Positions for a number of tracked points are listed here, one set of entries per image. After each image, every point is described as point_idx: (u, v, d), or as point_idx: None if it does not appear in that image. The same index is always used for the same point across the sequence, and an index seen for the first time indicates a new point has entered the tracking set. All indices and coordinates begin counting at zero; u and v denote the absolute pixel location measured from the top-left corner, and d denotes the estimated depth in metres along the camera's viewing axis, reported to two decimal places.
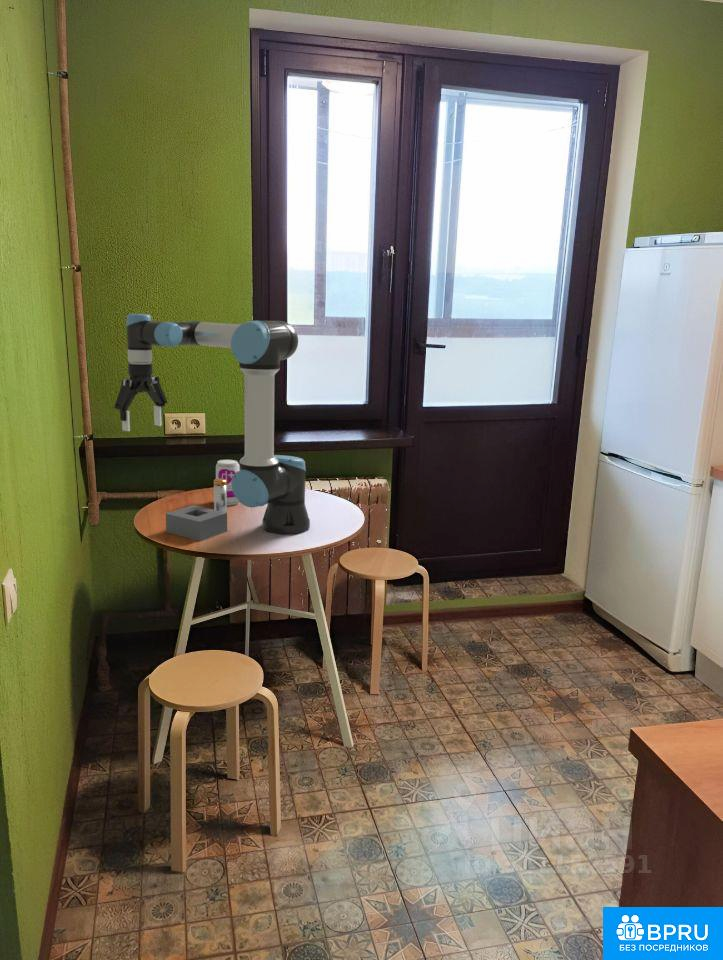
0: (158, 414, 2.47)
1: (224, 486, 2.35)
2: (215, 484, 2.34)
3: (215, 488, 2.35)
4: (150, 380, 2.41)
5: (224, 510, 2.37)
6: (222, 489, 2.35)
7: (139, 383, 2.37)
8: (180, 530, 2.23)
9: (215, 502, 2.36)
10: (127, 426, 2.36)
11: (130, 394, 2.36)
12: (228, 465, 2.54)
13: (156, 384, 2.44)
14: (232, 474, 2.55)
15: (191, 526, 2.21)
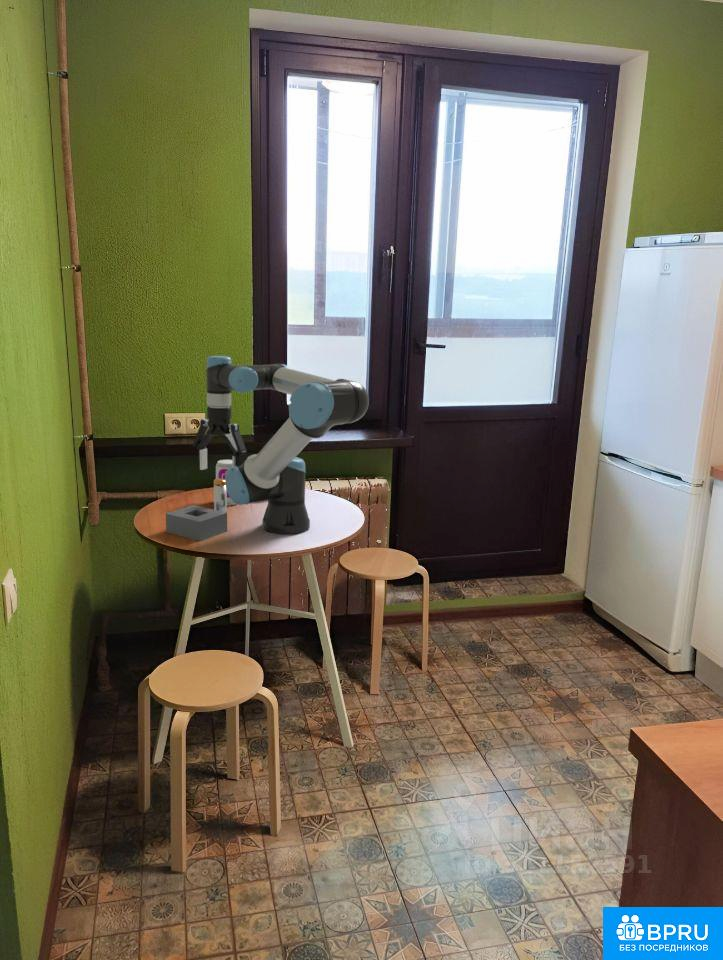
0: None
1: (224, 486, 2.35)
2: (215, 484, 2.34)
3: (215, 488, 2.35)
4: (224, 426, 2.29)
5: (224, 510, 2.37)
6: (222, 489, 2.35)
7: None
8: (180, 530, 2.23)
9: (215, 502, 2.36)
10: None
11: None
12: (228, 465, 2.54)
13: None
14: None
15: (191, 526, 2.21)
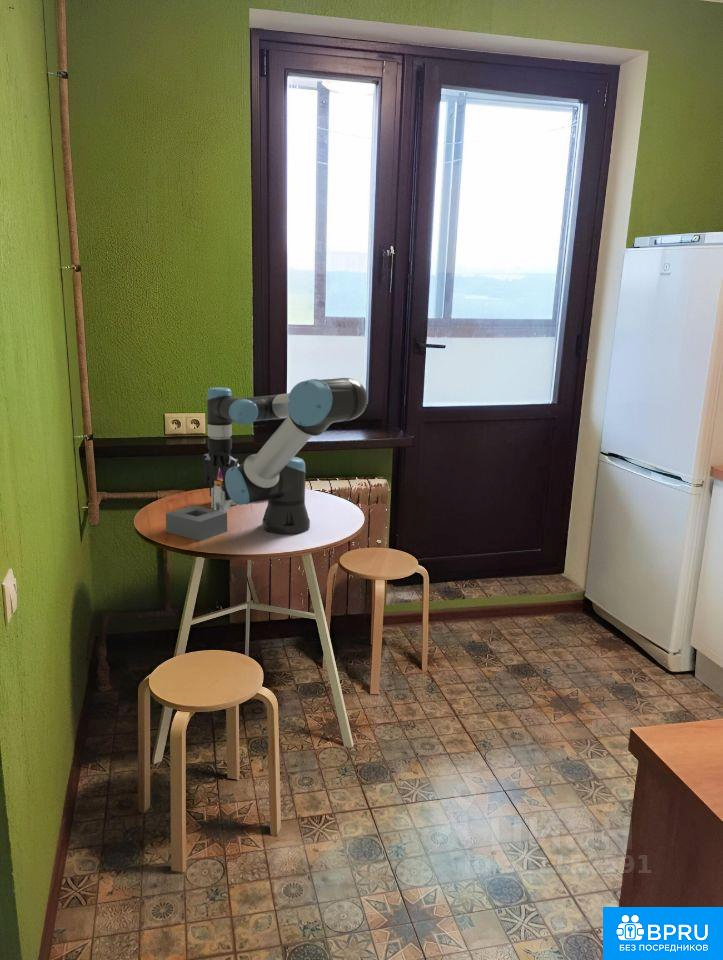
0: None
1: None
2: (215, 484, 2.34)
3: (215, 488, 2.35)
4: (225, 456, 2.31)
5: None
6: (222, 489, 2.35)
7: None
8: (180, 530, 2.23)
9: (215, 502, 2.36)
10: None
11: None
12: None
13: None
14: None
15: (191, 526, 2.21)
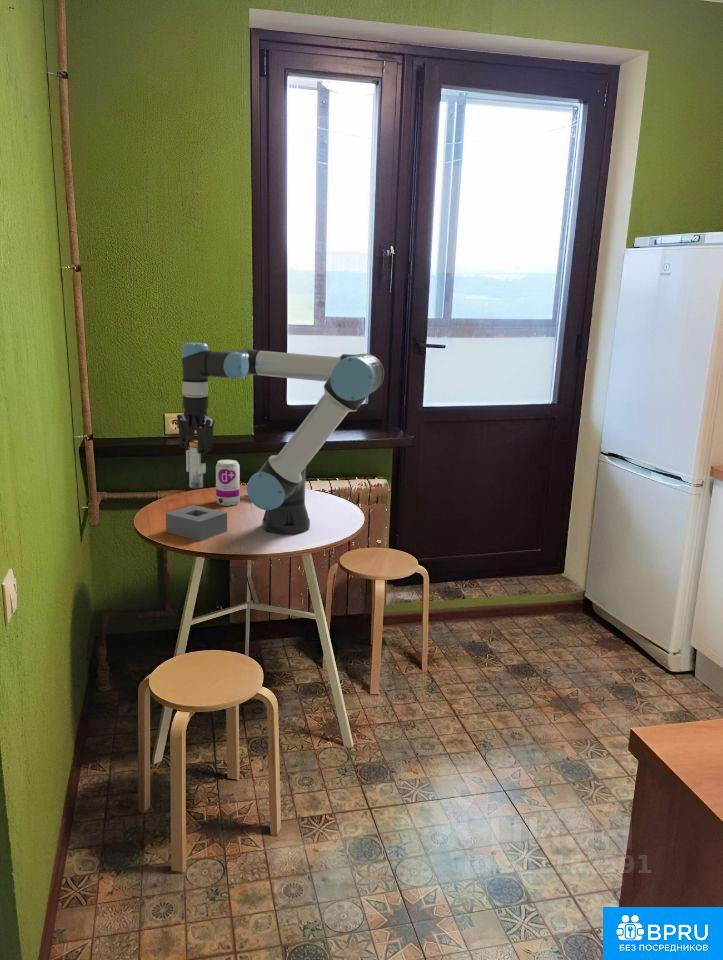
0: None
1: None
2: (190, 446, 2.21)
3: (190, 450, 2.21)
4: (200, 416, 2.18)
5: (200, 474, 2.23)
6: (198, 451, 2.21)
7: None
8: (180, 530, 2.23)
9: (190, 465, 2.23)
10: None
11: None
12: (228, 465, 2.54)
13: None
14: (232, 474, 2.55)
15: (191, 526, 2.21)
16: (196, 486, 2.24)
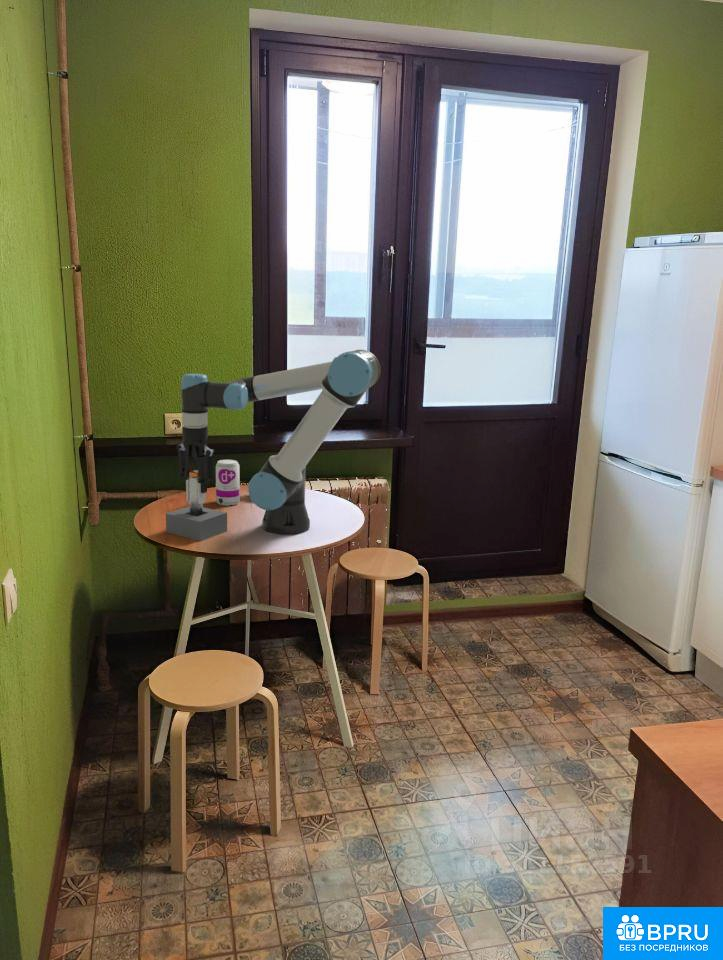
0: None
1: None
2: (190, 476, 2.23)
3: (190, 480, 2.23)
4: (200, 446, 2.19)
5: None
6: None
7: None
8: (180, 530, 2.23)
9: (190, 495, 2.24)
10: None
11: None
12: (228, 465, 2.54)
13: None
14: (232, 474, 2.55)
15: (191, 526, 2.21)
16: None
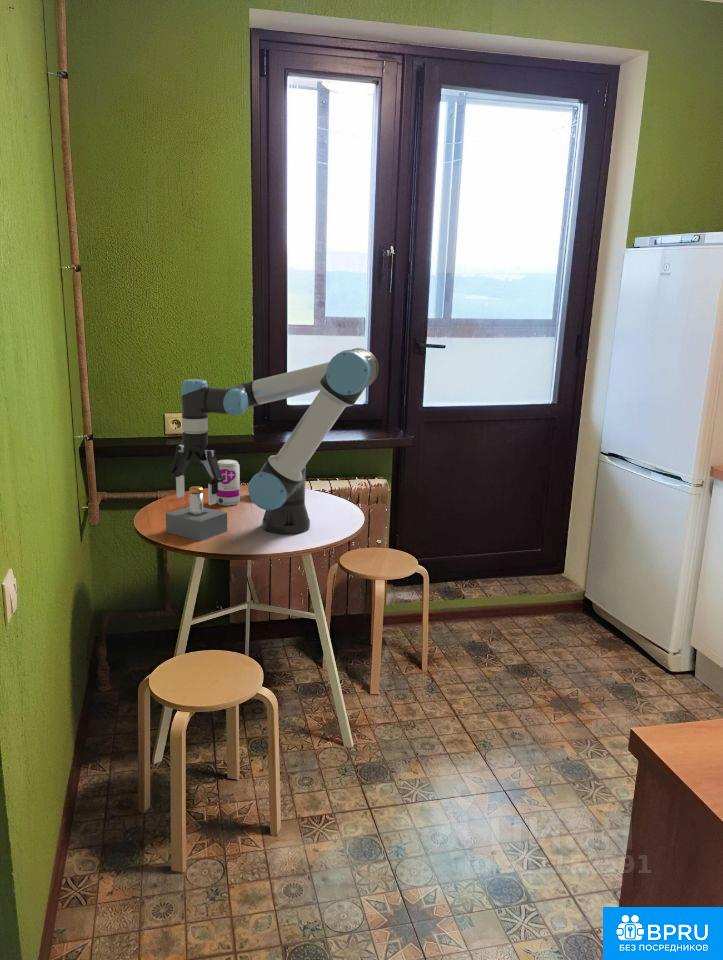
0: None
1: (200, 494, 2.24)
2: (191, 492, 2.24)
3: (191, 496, 2.24)
4: (200, 452, 2.20)
5: None
6: (198, 498, 2.24)
7: None
8: (180, 530, 2.23)
9: (191, 511, 2.25)
10: None
11: None
12: (228, 465, 2.54)
13: None
14: (232, 474, 2.55)
15: (191, 526, 2.21)
16: None
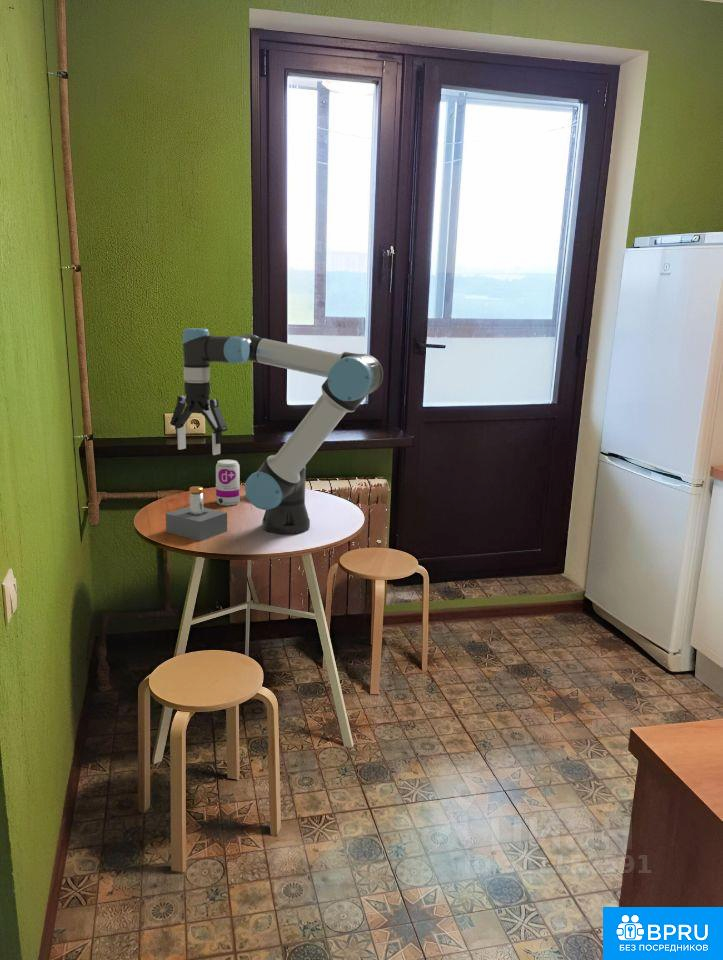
0: None
1: (200, 494, 2.24)
2: (191, 492, 2.24)
3: (191, 496, 2.24)
4: (203, 402, 2.18)
5: None
6: (199, 498, 2.24)
7: None
8: (180, 530, 2.23)
9: (191, 511, 2.25)
10: None
11: None
12: (228, 465, 2.54)
13: None
14: (232, 474, 2.55)
15: (191, 526, 2.21)
16: None
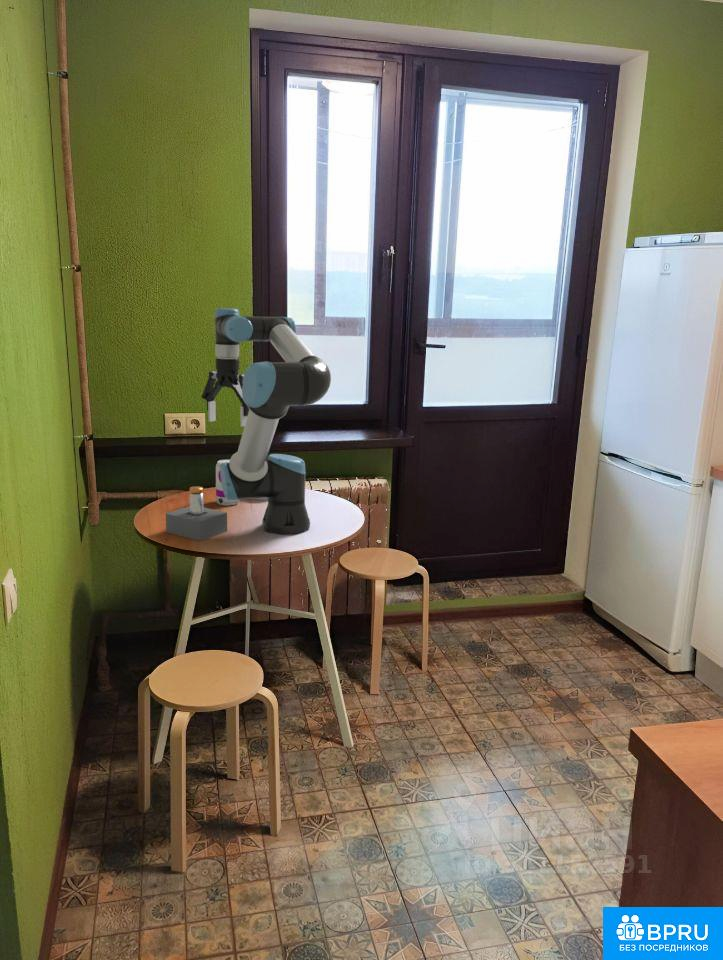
0: None
1: (200, 494, 2.24)
2: (191, 492, 2.24)
3: (191, 496, 2.24)
4: (232, 377, 2.34)
5: None
6: (199, 498, 2.24)
7: None
8: (180, 530, 2.23)
9: (191, 511, 2.25)
10: None
11: None
12: None
13: None
14: None
15: (191, 526, 2.21)
16: None
